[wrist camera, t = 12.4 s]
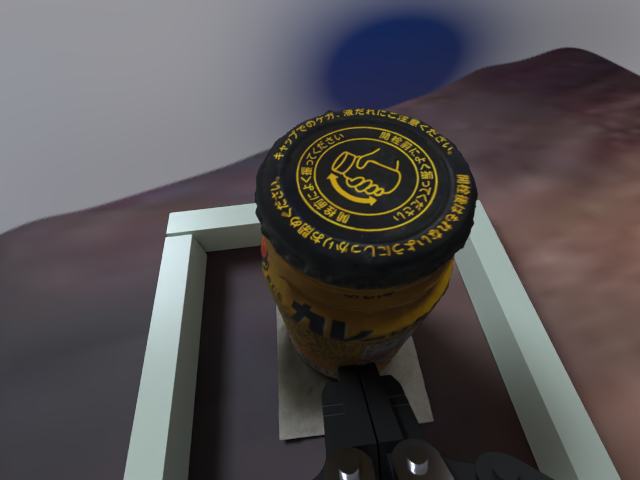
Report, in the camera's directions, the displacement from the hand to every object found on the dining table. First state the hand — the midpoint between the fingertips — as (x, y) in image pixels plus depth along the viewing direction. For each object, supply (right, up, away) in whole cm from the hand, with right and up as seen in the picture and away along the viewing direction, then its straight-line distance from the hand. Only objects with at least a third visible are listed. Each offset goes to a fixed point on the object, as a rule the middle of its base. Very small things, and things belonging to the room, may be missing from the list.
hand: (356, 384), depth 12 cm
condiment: (0, 0, +5) cm, 5 cm away
